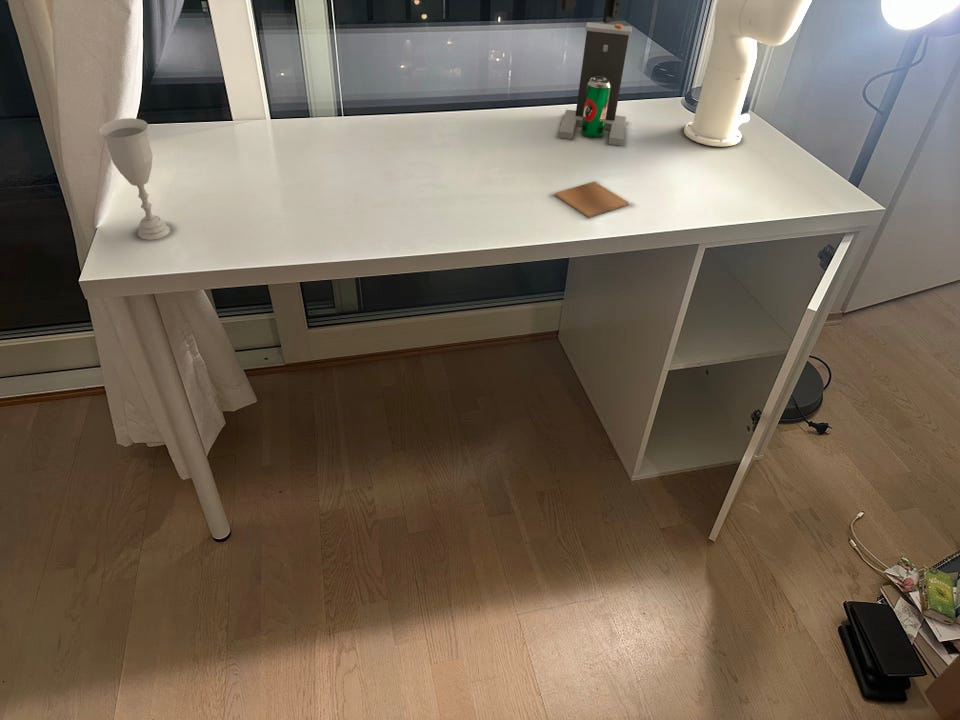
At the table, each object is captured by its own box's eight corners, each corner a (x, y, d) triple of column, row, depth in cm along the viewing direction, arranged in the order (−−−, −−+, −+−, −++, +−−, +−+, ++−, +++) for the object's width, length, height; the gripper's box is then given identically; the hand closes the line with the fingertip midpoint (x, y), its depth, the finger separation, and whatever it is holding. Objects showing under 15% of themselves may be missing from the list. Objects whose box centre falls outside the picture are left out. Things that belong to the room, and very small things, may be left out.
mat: (593, 183, 139) (594, 181, 139) (628, 205, 133) (629, 202, 133) (554, 195, 135) (554, 192, 134) (588, 217, 129) (589, 215, 128)
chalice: (139, 221, 121) (107, 117, 109) (180, 221, 121) (153, 118, 110) (126, 243, 115) (92, 137, 104) (169, 243, 116) (140, 137, 104)
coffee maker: (565, 115, 166) (577, 17, 152) (625, 122, 164) (642, 24, 150) (558, 137, 156) (570, 35, 142) (621, 145, 154) (640, 43, 140)
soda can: (602, 139, 156) (611, 84, 148) (579, 136, 157) (587, 82, 149) (603, 131, 160) (612, 77, 152) (581, 128, 160) (589, 74, 153)
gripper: (659, -92, 113) (640, 23, 124) (577, -106, 122) (566, 1, 133) (631, -88, 109) (613, 30, 120) (548, -103, 118) (539, 7, 129)
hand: (588, 15), depth 126 cm, fingers open, 9 cm apart
